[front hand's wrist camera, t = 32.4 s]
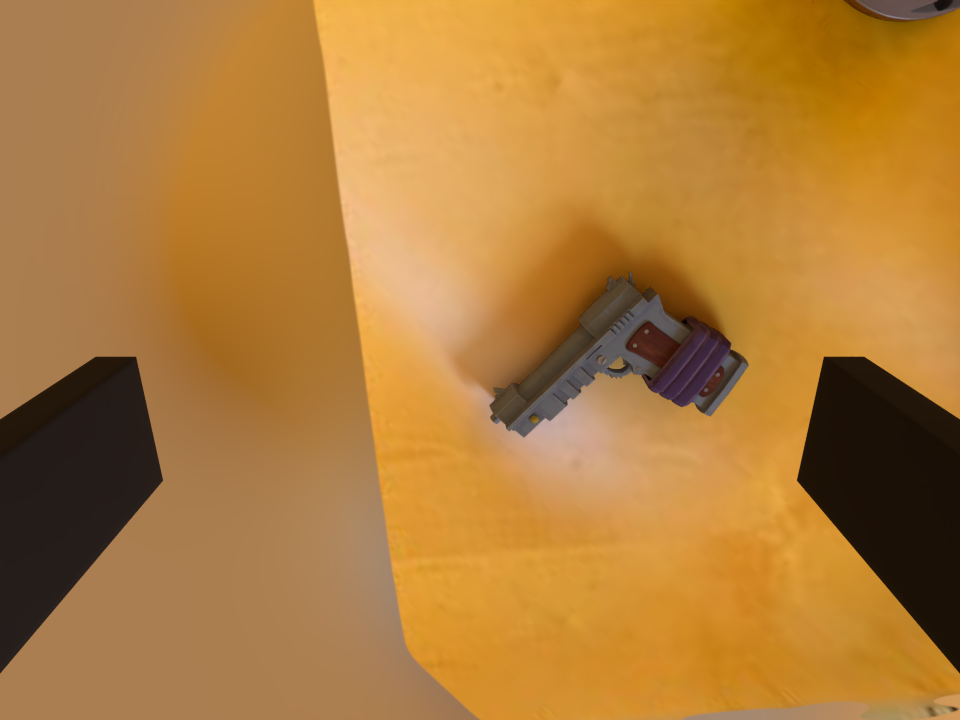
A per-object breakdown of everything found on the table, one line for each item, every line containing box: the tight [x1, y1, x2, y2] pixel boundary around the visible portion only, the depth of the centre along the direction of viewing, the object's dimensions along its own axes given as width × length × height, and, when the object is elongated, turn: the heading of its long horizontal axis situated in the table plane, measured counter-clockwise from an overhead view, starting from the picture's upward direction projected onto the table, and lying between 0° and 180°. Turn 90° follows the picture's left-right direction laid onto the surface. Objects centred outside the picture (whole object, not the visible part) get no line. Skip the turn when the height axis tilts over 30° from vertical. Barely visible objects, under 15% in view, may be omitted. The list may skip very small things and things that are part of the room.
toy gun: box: [489, 272, 749, 437], centre depth 54 cm, size 4×19×15 cm
